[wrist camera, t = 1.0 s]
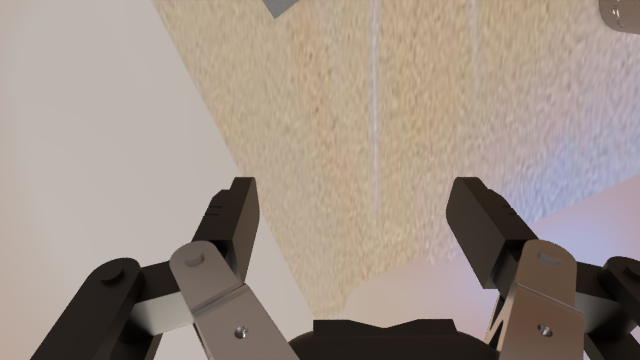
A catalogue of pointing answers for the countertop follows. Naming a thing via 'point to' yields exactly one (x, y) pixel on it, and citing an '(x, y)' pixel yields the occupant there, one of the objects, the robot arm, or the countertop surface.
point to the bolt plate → (278, 6)
